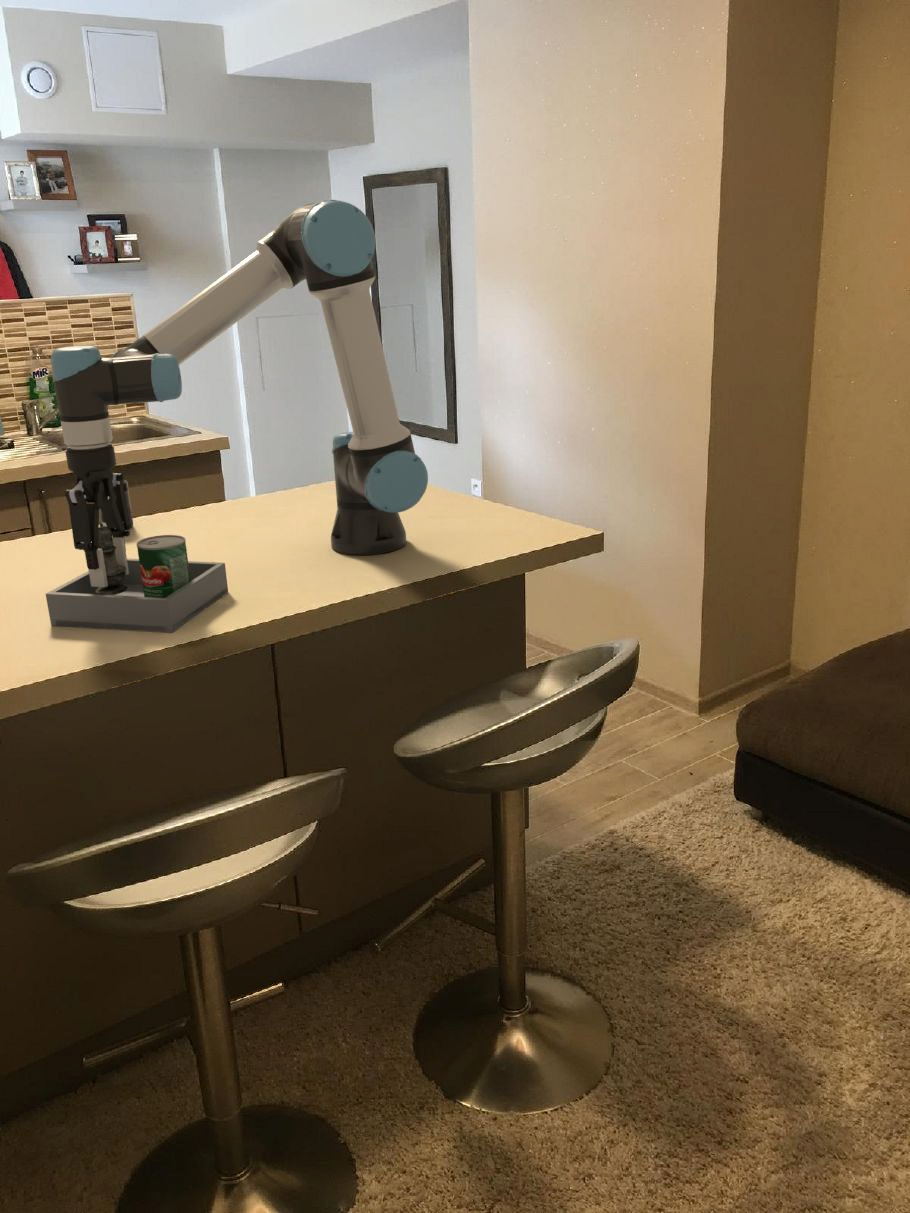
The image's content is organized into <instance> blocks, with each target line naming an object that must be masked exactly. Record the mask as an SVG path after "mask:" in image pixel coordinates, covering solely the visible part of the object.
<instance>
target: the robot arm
mask: <svg viewBox="0 0 910 1213" xmlns="http://www.w3.org/2000/svg"><path fill="white" fill-rule="evenodd" d="M375 249H376V235H375V231H374V228H373V225H372V223H371V220H370V219H369V218H368V216H367V215H366V214H365V213H364V212H363V211H362V210H361V209H360V208H358V207H357V206H356V205H354V204H352V203H350V202H347V201H343V200H337V199H330V200H323V201H321V202H320V201H319V202H315V203H309V204H305V205H302V206H300V207H299V208H297V209H295V210H294V211H292V212H291V213H290V214H289V215H288V216H287V217H286V218H285V219H284V220H283V221H282V222H281V223H279V224H278V225H277V226H276V227H275V228H274V229H272V230H271V231H270V232H269V233H267V234H266V235H265V236H264V237H263V238H261V239H260V240H258V241H257V242H256V249H255V252H253V253H252V254H250V255H249V256H247V257H246V258H245V259H244V260H242V261H240V263H238V264H237V265H235V266H234V267H233V268H232V269H231V270H229V271H227V272H226V273H225V274H223V275H222V276H221V277H220V278H218V279H217V280H215V281H214V282H213V283H211V284H210V285H209V286H207V287H206V288H205V289H203V290H202V291H201V292H199V293H198V294H197V295H195V296H194V297H192V298H191V299H189V301H187V302H186V303H184V305H182V306H180V307H179V308H178V309H176V310H175V311H174V312H172V313H171V314H170V315H168V316H167V317H165V318H164V319H163V320H161V321H160V322H159V323H158V324H157V325H155V326H153V327H152V328H151V329H150V330H148V331H147V332H145V333H144V334H143V335H142V336H141V337H139V338H138V339H136V340H135V341H134V342H132V343H131V344H130V345H128V346H126V347H123V348H122V347H121V348H120V349H118V350H117V351H115V352H114V354H112V356H111V357H102V354H101V353H100V350H99V348H98V347H97V346H93V345H84V346H83V345H79V346H78V345H77V346H76V345H75V346H65V347H58V348H56V349H54V350H52V353H51V354H50V362H51V371H52V374H51V375H52V381H53V387H54V392H55V393H54V394H55V398H56V403H57V408H58V409H57V410H58V414H59V419H60V424H61V430H62V437H63V444H64V445H66V449H64V450H65V451H64V452H65V458H66V463H67V468H68V470H69V471H70V472H73V473H74V475H75V481H74V487H73V488H72V489H65V491H64V497H65V499H66V501H67V504H68V510H69V514H70V515H69V516H70V518H69V519H70V525H71V531H72V532H71V533H72V539H73V546H74V549H76V550H79V551H83V552H84V557H85V562H86V566H87V570H88V571H89V576H90V582H91V587H107V586H108V582H107V576H106V570H105V563H104V557H103V551H102V548H98V543H99V527H100V525H99V524H100V511H99V509H101V512H102V514H103V517H104V520H105V523H106V525H107V528H109V529H110V530H111V533H112V539H113V546H115V547H116V549H115V555H116V560H117V562H118V564H119V565H122V566H125V567H126V568H127V569H126V571H125V575H128V574H129V570H128V563H127V559H128V557H127V548H126V542H125V537H130V535H131V532H130V531H129V530H131V529H132V528H131V524H130V519H129V513H128V508H127V502H126V497H125V492H124V480H125V475H124V474H123V473H114V472H113V470H112V469H113V468H114V467H116V465H117V460H116V453H115V447H114V445H113V444H112V443H111V442H112V441H113V439H114V437H113V432H112V425H111V420H110V419H111V418H110V415H109V407H110V406H119V405H129V404H141V403H154V402H158V403H164V401H171V400H172V401H173V400H176V399H180V397H181V395H182V392H183V386H182V385H183V383H182V375H181V369H180V368H181V367H180V365H182V364H183V363H184V362H185V361H187V360H188V359H189V358H191V357H192V356H194V355H195V354H196V353H197V352H199V351H200V350H202V349H203V348H204V347H206V346H207V345H208V344H210V343H211V342H212V341H213V340H215V339H216V338H217V337H219V336H220V335H222V334H223V333H224V332H226V331H227V330H228V329H229V328H231V327H232V326H234V325H235V324H236V323H237V322H239V321H241V319H243V318H244V317H246V316H247V315H248V314H249V313H251V312H252V311H254V310H255V309H257V307H259V306H261V305H262V304H263V303H265V302H266V301H267V300H268V299H269V298H271V297H272V296H274V295H275V294H276V293H277V292H279V291H281V290H282V289H288V290H291V289H293V288H294V287H295V286H297V285H298V284H299V283H301V282H303V281H304V280H306V286H307V288H308V292H309V294H310V295H312V296H313V297H315V298H317V299H318V301H320V304H321V307H322V311H323V312H322V313H323V316H324V320H325V324H326V328H327V329H326V330H327V332H328V336H329V340H330V345H331V348H332V351H333V356H334V360H335V364H336V368H337V373H338V376H339V379H340V384H341V389H342V392H343V395H344V400H345V404H346V409H347V413H348V416H349V420H350V425H351V429H352V431H347V432H340V433H337V434H336V435H334V436H333V438H332V450H331V453H332V455H333V456H332V458H333V470H334V479H335V480H334V481H335V493H336V494H335V495H336V508H337V510H336V512H335V513H336V514H335V519H334V521H333V526H332V530H331V534H330V543H331V548H332V550H334V551H335V552H338V553H340V554H345V555H355V556H356V555H357V556H358V555H359V556H366V555H369V556H370V555H379V554H380V555H381V554H384V553H389V552H394V551H396V550H400V549H402V548H403V547H404V546H405V545H407V533H406V529H405V526H404V524H403V520H402V519H401V516H400V513H402V512H405V511H408V510H410V509H412V508H414V506H416V505H417V504H418V503H419V502H420V501H421V500H422V498H423V496H424V495H425V493H426V490H427V488H428V484H429V483H428V482H429V473H428V470H427V466H426V465H425V462H424V461H423V460H422V458H421V457H420V456H419V455H417V454H416V451H415V448H414V443H413V438H412V434H411V431H410V429H409V428H408V427H406V426H404V425H403V424H401V423H400V419H399V414H398V409H397V407H396V406H397V405H396V401H395V397H394V392H393V389H392V384H391V380H390V374H389V370H388V366H387V362H386V357H385V353H384V348H383V345H382V340H381V336H380V331H379V327H378V323H377V318H376V314H375V313H376V312H375V310H374V305H373V300H372V297H371V296H372V295H371V292H370V289H371V287H372V285H373V284H374V281H375V279H376V273H375V270H374V264H373V260H372V259H373V256H374V253H375ZM67 446H68V447H67ZM115 486H116V487H115ZM122 521H124V523H123V522H122ZM130 528H131V529H130ZM126 530H127V531H126Z"/></svg>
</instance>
